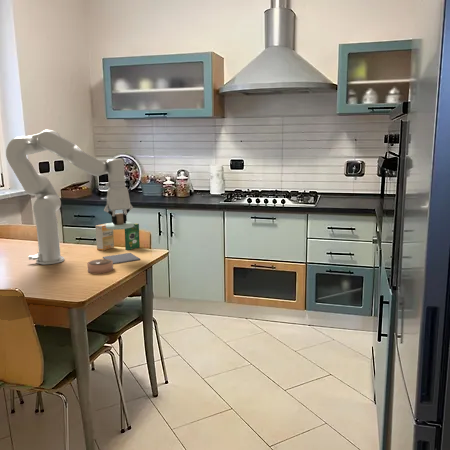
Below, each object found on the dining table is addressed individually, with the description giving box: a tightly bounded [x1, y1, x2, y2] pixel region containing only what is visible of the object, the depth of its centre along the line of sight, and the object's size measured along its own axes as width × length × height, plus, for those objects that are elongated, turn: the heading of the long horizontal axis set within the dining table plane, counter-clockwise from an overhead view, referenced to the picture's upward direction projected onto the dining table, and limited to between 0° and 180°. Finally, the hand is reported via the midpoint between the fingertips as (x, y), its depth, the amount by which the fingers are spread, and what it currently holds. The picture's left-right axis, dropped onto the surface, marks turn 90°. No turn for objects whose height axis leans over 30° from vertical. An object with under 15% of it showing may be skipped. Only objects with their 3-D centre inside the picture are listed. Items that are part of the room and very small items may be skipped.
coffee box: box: [124, 222, 141, 251], centre depth 248 cm, size 8×3×13 cm, turn 142°
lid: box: [105, 212, 135, 230], centre depth 225 cm, size 13×13×6 cm
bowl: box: [86, 258, 114, 275], centre depth 211 cm, size 11×11×4 cm
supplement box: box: [95, 222, 115, 251], centre depth 249 cm, size 8×5×13 cm, turn 148°
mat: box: [102, 252, 141, 265], centre depth 229 cm, size 14×14×1 cm
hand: (119, 223), depth 226 cm, fingers closed on lid, 4 cm apart
